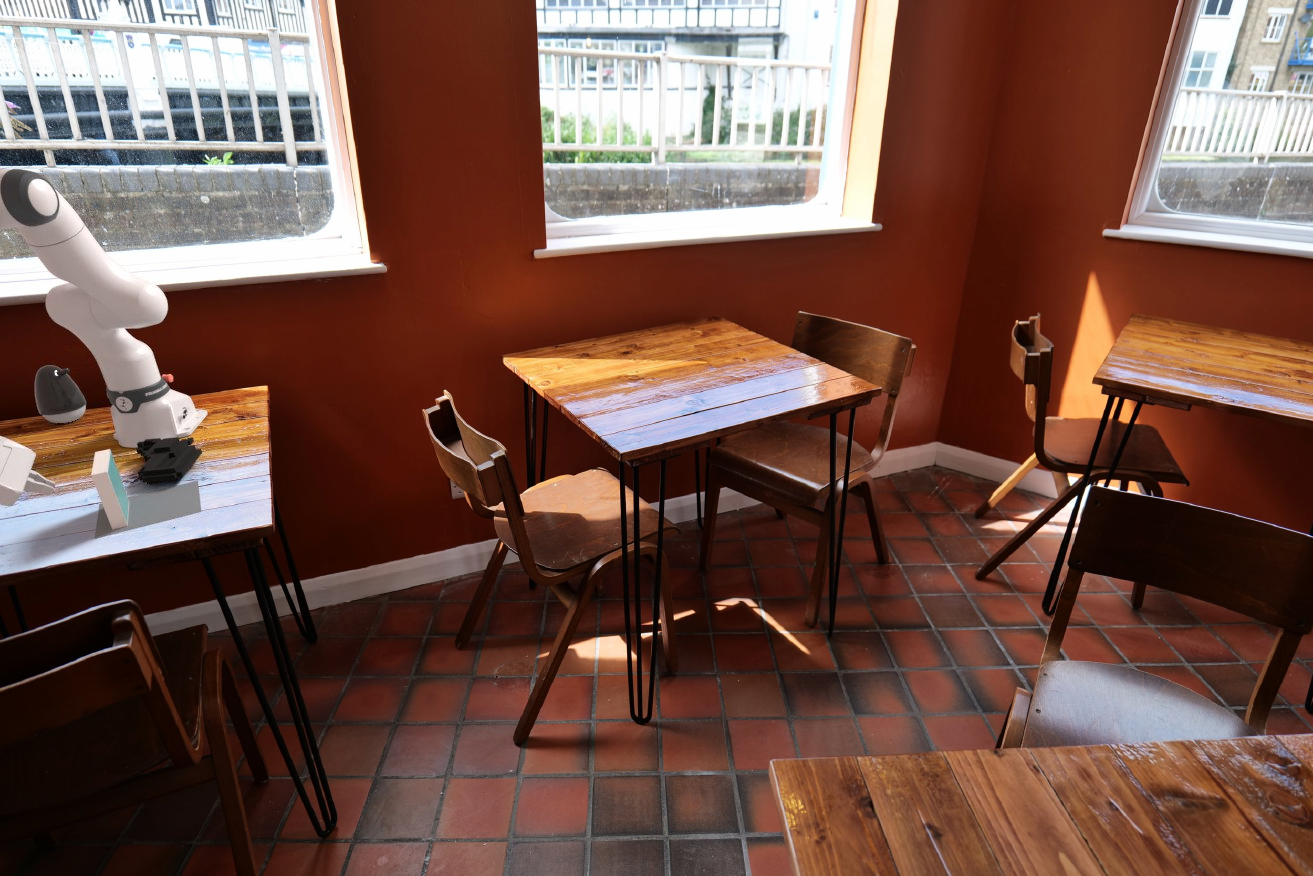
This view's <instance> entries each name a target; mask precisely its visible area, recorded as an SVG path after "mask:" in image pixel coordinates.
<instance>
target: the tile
mask: <svg viewBox="0 0 1313 876" xmlns="http://www.w3.org/2000/svg"><path fill="white" fill-rule="evenodd" d="M90 477H91V478H92V481H93V484H94V486H95V489H96V491H97V494H98V496H99V500H100V501H101V502H100V503H102V504H103V507H104V509H105V512H106V514H107V517H108V520H109V522H110V525H111V527H112V530H113V529H117V528H121V527H125V526H128V513H129V498H128V497H129V496H128V494H127V491H126V487H125V485H124V483H123V480H122V478H121V474H120V472H119V469H118V467H117V464H116V462H115V459H114V456H113V453H112V451H111V448H108V449H105V450H99V451H95V452H94V457H93V463H92V469H91V474H90Z"/></svg>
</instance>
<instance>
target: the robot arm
mask: <svg viewBox="0 0 1313 876" xmlns="http://www.w3.org/2000/svg"><path fill="white" fill-rule="evenodd" d="M6 229H8V230H9V229H17V230H18V232H19V234H20V236H21V237H22V238H23V240H24V241H25V242H26V243H27V245H28V246H29V248H31V250H32V251H33V253H34V254H35V256H36V257H37V258H38V259H39V260H40V262H41V263H42V265H43V266H44V267H45V268H46V270H47V271H48V272H49V273H50V275H52V276H54V277H56V278H58V279H59V280H62V281H65V282H67V283H63V284H59V285H56V286H54V287H52V288H51V289H50V290H49V291H48V292H47V295H46V298H45V309H46V312H47V313H48V316H49V318H51V320H52V321H53V322H54V323H56V324H58V325H59V326H61V327H63V328H64V329H66V330H69V332H71V333H72V334H73V335H75V336H76V337H77V338H78V339H79V340H80V341H81V342H82V343H83V344H84V345H85V346H86V347H87V349H88V350H89V352H91V354H92V355H93V358H94V359H95V361H96V362H97V365H98V367H99V369H100V373H101V374H102V377H103V379H104V381H105V385H106V389H105V390H106V396H107V398H108V399H109V402H110V404H111V406H110V414H111V419H112V422H113V426H114V430H115V432H114V433H113V434H112V435H113V439H114V440H116V441H118V444H119V446H121V447H125V448H129V449H130V448H134V449H135V448H136V449H137V448H138V446H137V443H138V442H142V441H144V440H145V439H155V438H161V440H162V439H164V438H174V437H179V439H180V438H184V437H188V436H190V435H192V434H193V432H194V431H195V430H196V429H197V427H199V425H200V424H201V423H202V422H203V421H204V419H205V418H206V417H207V416H208V411H207V409H206V410H205V409H201V408H196V407H195V404H194V402H193V400H192V398H191V396H190V395H187V394H185V393H182V392H179V391H176V390H174V389H171V388H170V386H169V385H168V383H172V382H174V376H173V375H172V374H171V373H169V374H162V375H161V373H160V370H159V368H158V365H157V362H156V359H155V355H154V352H153V351H152V349H151V348H150V347H149V346H148V345H147V344H146V343H144V342H143V341H141V340H138V339H136V338H135V336H134V337H133V336H132V334H130V333H129V332H128V330H126V329H142V328H147V327H151V326H154V325H158V324H160V323H162V322H163V321H164V319H165V318H166V316H167V314H168V311H169V305H168V299H167V297H166V294H165V293H164V291H163V290H162V289H161V288H160V287H159V286H157V285H156V284H154V283H152V282H149V281H148V280H147V281H146V280H144V279H142V278H140V277H138V276H137V275H136V274H134V273H132V272H131V271H129V270H127V269H126V268H125V267H123V266H122V265H120V264H119V263H118V262H117V261H116V260H114V259H113V258H112V257H111V256H110V255H109V254H108V253H107V252H106V251H105V249H103V248H102V246H101V245H100V243H98V241H97V240H96V238H95V237H94V236H93V234H92V233H91V231H90V230H89V228H88V227H87V226H86V224H85V223H84V221H83V220H82V219H81V217H80V216H79V214H78V213H77V212H76V210H75V209H74V208H73V206H72V205H71V204H70V203H69V202H68V201H67V200H66V199H65V198H64V196H63V195H62V194H61V193H60V192H59V191H57V189H56V188H55V187H54V186H53V184H52V183H51V182H50V181H48V180H47V179H46V178H45V177H44V176H43V175H41V174H39V173H38V172H35V171H31V170H27V169H22V168H21V169H19V168H13V169H4V168H3V169H2V168H1V169H0V231H2V230H6ZM36 456H37V453H36V452H34V451H33V450H32V449H31V448H29V447H27V446H25V445H23V444H20V443H19V442H16V441H14V440H12V439H10V438H7V437H5V436H1V435H0V506H4V507H5V506H6V507H13V506H14V505H15V504H16V502H17V501H18V500H19V498H20V497H21V495H22V494H23V492H24V491H25V492H28V493H38V494H42V495H44V496H47V497H49V496H51V495H52V493H53V492H54V491H55V487H56V483H55V481H52V480H50V479H48V478H46V477H45V476H43V475H42V474H41V473H39V472H37V471H35V470H33V469H32V468H33V465H34V462H35V459H36Z"/></svg>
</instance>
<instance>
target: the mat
mask: <svg viewBox="0 0 1313 876" xmlns="http://www.w3.org/2000/svg"><path fill="white" fill-rule="evenodd" d="M128 498H129V513H128V526H125V527H121V528H117V529H113V530H112V527H111V525H110V522H109V520H108V517H107V514H106V512H105V509H104V507H103V504H102V502H100V503H99V507H98V514H97V520H96V521H97V522H96V529H95V534H94V539H95V540H96V539H100V538H105V537H108V536H111V535H115V534H118V533H119V534H120V533H122V532H127V531H131V530H134V529H139V528H143V527H147V526H150V525H151V526H152V525H155V524H159V523H162V522H166V521H171V520H175V519H178V518H183V517H186V516H190V515H193V514H198V513H202V506H201V504H202V503H201V496H200V486H199V480H195V481H190V482H187V483H181V484H178V485H174V486H170V487H166V488H161V489H157V490H153V491H148V492H144V493H140V494H136V495H131V496H128Z"/></svg>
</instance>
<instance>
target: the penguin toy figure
mask: <svg viewBox="0 0 1313 876" xmlns="http://www.w3.org/2000/svg"><path fill="white" fill-rule="evenodd" d="M70 370H71V369H70V368H68V367H66V368H64V369H62V368H60V367H59V366H56V365H52V364H51V365H50V364H48V365H44V366H42V367H40V368H39V369H38V370H37V372H36V374H35V379H34V397H35V403H36V407H37V410H38V413H39V414H40V415H42V417H43V418H44V419H45V420H47V421H48V422H50V423H54V424H57V423H64V424H69V423H72V421H73V422H75V420H76V421H78V420H79V419H81V418H82V417H83V416H84V414H85V412H86V409H87V408H86V407H87V400H86V398H85V396H84V394H83V392H82V391H81V390H80V389H81V388H79V386H78V384H77V383H76V382H75V381H74V380H73V378H71V376H70V375H69V374H68V373H69V372H70ZM77 419H78V420H77ZM68 422H69V423H68Z"/></svg>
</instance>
